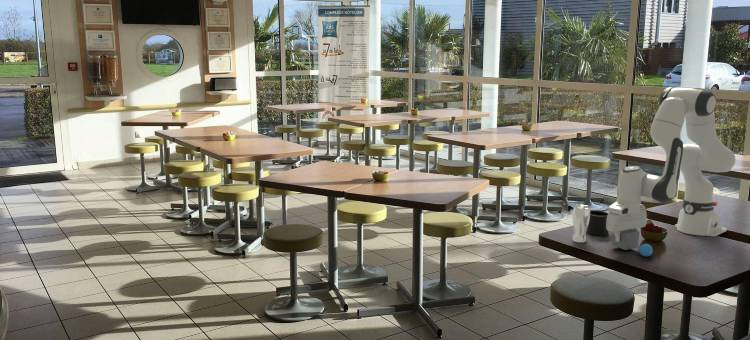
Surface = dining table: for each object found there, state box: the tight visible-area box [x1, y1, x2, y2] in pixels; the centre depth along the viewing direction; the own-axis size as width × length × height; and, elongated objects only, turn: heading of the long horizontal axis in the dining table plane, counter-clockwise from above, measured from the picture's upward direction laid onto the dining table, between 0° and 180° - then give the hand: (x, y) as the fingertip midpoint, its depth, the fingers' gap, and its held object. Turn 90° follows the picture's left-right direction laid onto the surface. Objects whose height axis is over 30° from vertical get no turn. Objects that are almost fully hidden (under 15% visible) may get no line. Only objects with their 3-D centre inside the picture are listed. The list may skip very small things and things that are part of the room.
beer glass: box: [571, 204, 591, 244], centre depth 270 cm, size 7×7×15 cm
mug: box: [587, 210, 610, 237], centre depth 283 cm, size 9×12×9 cm
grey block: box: [611, 229, 640, 251], centre depth 259 cm, size 7×7×7 cm
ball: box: [638, 243, 654, 257], centre depth 251 cm, size 5×5×5 cm
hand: (625, 239), depth 259 cm, fingers closed on grey block, 7 cm apart
